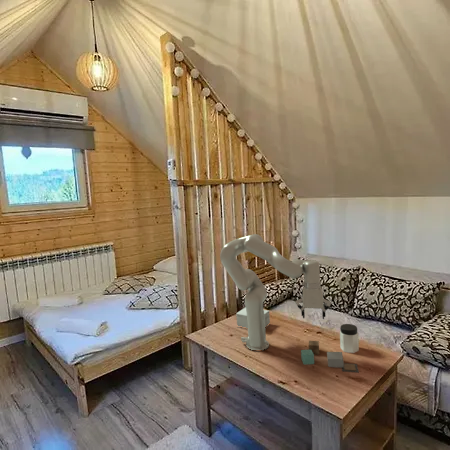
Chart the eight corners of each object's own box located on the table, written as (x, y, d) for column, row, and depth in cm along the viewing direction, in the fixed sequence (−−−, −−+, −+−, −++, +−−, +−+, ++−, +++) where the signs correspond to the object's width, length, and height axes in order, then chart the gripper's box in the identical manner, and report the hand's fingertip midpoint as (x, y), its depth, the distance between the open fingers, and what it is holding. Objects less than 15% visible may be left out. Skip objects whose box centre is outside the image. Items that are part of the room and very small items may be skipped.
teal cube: (303, 365, 158) (303, 355, 157) (301, 359, 163) (301, 350, 162) (314, 364, 158) (313, 354, 157) (311, 359, 163) (311, 349, 162)
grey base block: (328, 367, 154) (327, 359, 154) (327, 359, 161) (326, 351, 161) (344, 367, 152) (343, 359, 152) (342, 359, 159) (342, 351, 159)
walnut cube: (309, 354, 167) (308, 345, 167) (309, 349, 172) (308, 340, 172) (319, 355, 166) (318, 345, 165) (319, 350, 171) (318, 341, 170)
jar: (338, 345, 174) (337, 324, 172) (353, 344, 174) (352, 322, 173) (345, 354, 165) (344, 331, 163) (361, 352, 165) (360, 330, 164)
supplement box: (236, 327, 206) (235, 313, 205) (247, 320, 217) (246, 306, 216) (260, 332, 197) (259, 317, 196) (270, 324, 207) (269, 310, 206)
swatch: (342, 371, 150) (342, 370, 150) (341, 363, 157) (341, 362, 156) (358, 372, 148) (358, 371, 148) (356, 364, 155) (356, 363, 155)
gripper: (294, 287, 164) (295, 319, 166) (330, 287, 159) (331, 321, 161) (295, 282, 171) (296, 314, 173) (330, 283, 166) (330, 315, 168)
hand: (313, 317), depth 167 cm, fingers open, 9 cm apart
